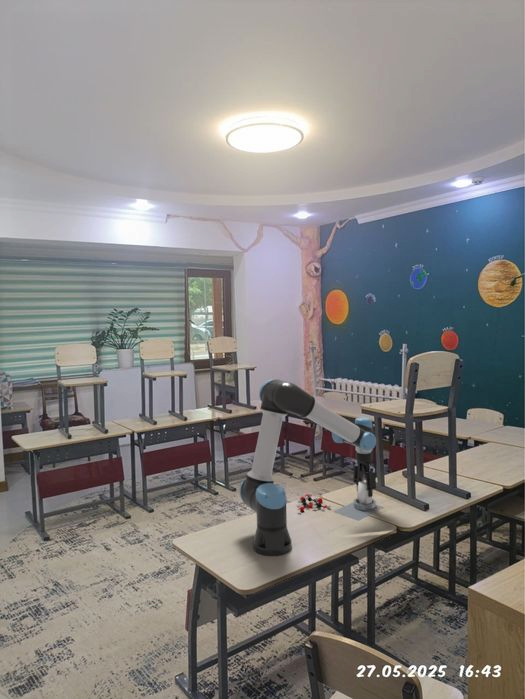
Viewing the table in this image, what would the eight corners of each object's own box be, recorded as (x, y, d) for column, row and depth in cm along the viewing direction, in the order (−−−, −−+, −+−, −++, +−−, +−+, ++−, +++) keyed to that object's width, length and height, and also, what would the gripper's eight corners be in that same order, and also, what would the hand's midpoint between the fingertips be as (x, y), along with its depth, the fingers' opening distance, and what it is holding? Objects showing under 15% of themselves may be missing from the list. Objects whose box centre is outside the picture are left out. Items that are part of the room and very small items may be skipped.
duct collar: (358, 511, 220) (358, 506, 220) (350, 503, 230) (350, 498, 230) (379, 509, 222) (379, 504, 222) (371, 501, 232) (371, 496, 231)
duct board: (358, 523, 211) (358, 519, 211) (333, 514, 221) (332, 511, 221) (384, 509, 225) (384, 506, 225) (359, 501, 235) (359, 499, 235)
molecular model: (300, 501, 238) (331, 496, 235) (301, 523, 228) (333, 518, 225) (295, 487, 232) (326, 482, 230) (296, 509, 222) (328, 504, 219)
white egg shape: (361, 506, 223) (360, 484, 222) (357, 501, 228) (356, 480, 227) (373, 505, 224) (372, 483, 223) (368, 500, 229) (368, 480, 228)
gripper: (384, 454, 218) (384, 505, 219) (357, 445, 234) (357, 493, 236) (371, 457, 214) (372, 509, 216) (344, 448, 230) (345, 496, 232)
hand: (364, 500), depth 226 cm, fingers closed on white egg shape, 5 cm apart
